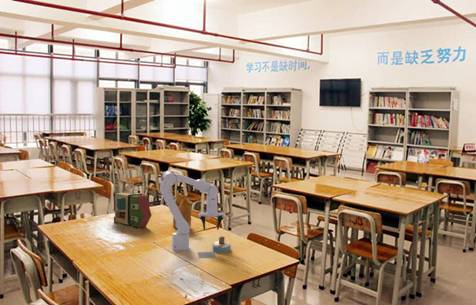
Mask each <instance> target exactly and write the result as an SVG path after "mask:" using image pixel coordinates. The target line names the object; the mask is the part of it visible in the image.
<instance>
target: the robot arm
mask: <svg viewBox="0 0 476 305" xmlns="http://www.w3.org/2000/svg"><path fill="white" fill-rule="evenodd" d="M181 182H182V183H185V184H188V185H190V186H193V187H194V190H198V191H200V192H202V193H205V194H206V212H199V213H198V216H197V217H198V218H200V220H201V222H202V226H203V230H204V231H205V230H206V218H211V217H212V218H216V220H217V222H216V224H217V225H216V229H217V230H220V226H221V223H222V220H223V218H225V212H218V210H217V208H218V205H217V204H218V193H219V187H218V186H216V185H215V184H213V183H212V182H207V181H204V179H202V178H200V179H199V178H198V179H193V178H191V177H189V176H185V175H184V174H181V173H178V172H174V171H171V170H166V171H164V172H163V173H162V175H161V176H160V184H159V191H160V193H161V196H162V198H163V199H164V202H165V203H166V205H167V208H168V209H169V211H170V213H171V215H172V218H173V217H174V219H175V221H176V227H177V228H178V229H177V228H176V229H177V230H176V231H175V232H173V233H172V240H171V241H172V243H171V247H172V251H191V246H190V231H191V227H190V226H189V224H188V223H187V222H186V220H184V218H183V216H182V214H181V212H180V211H179V209H178V207H177V205H176V203H175V202H176V200H175V199H174V196H173V194H172V193H171V188H172V187H173V186H174V184H176V183H181Z"/></svg>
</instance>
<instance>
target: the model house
mask: <svg viewBox="0 0 476 305" xmlns="http://www.w3.org/2000/svg"><path fill="white" fill-rule="evenodd" d="M148 202H149V201H148V199H147V195H145V194H136V193H133V194H132V193H127V192H122V191H115V192H113V212H114V216H113V223H119V224H124V225H127V226H128V227H136V228H137V229H138V230H140V229H144V228H146V227H147V226H148V224H149V222H150V219H151V217H152V215H153V214H152V212H151V208H150V205H149V203H148Z"/></svg>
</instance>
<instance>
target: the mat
mask: <svg viewBox="0 0 476 305" xmlns="http://www.w3.org/2000/svg"><path fill="white" fill-rule="evenodd" d="M197 256H198V259H209V258H210V259H211V258H212V259H213V258H217V256H216V252H214V251H202V252H201V251H199V252H197Z"/></svg>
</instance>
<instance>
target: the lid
mask: <svg viewBox="0 0 476 305" xmlns="http://www.w3.org/2000/svg"><path fill="white" fill-rule="evenodd" d="M225 238H226V237H224V236H219V237H218V240H217V241H214V242H213V243H212V244H213V246H214V247H217V248H227V247H229V246H231V244H230V242H229V241H225Z"/></svg>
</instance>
